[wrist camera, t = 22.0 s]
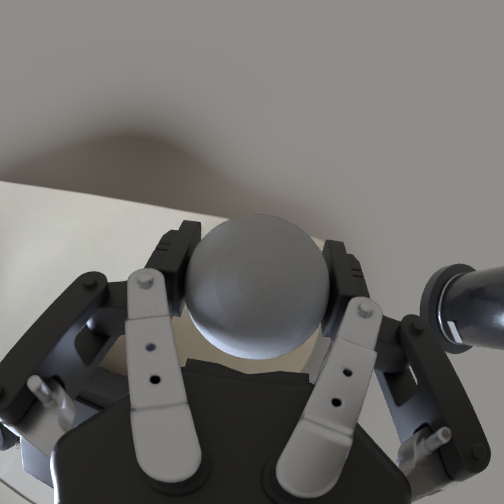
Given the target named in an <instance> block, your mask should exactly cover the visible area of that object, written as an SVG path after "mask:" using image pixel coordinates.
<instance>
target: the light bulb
mask: <svg viewBox="0 0 504 504" xmlns="http://www.w3.org/2000/svg"><path fill="white" fill-rule="evenodd" d="M184 293H185V300H186V305H187V308H188V311H189V314H190V316H191V318H192V320H193V322H194V324H195V326H196V327H197V328H198V330H199V331H200V333H201V334H202V335H203V336H204V337H205V338H206V339H207V340H208V341H209V342H210V343H212V344H213V345H214V346H216V347H217V348H219V349H220V350H222V351H224V352H226V353H228V354H231V355H234V356H237V357H241V358H246V359H269V358H274V357H278V356H281V355H284V354H286V353H288V352H290V351H292V350H294V349H296V348H297V347H299V346H300V345H301V344H303V343H304V342H305V341H306V340H307V339H308V338H309V337H310V336H311V335H312V334H313V333H314V332H315V330H316V329H317V328H318V326H319V324H320V323H321V321H322V319H323V317H324V315H325V312H326V309H327V306H328V301H329V294H330V278H329V272H328V268H327V265H326V262H325V259H324V257H323V255H322V253H321V251H320V250H319V248H318V246H317V245H316V244H315V242H314V241H313V240H312V239H311V238H310V236H309V235H307V234H306V233H305V232H304V231H303V230H302V229H300V228H299V227H298V226H296V225H294V224H293V223H291V222H289V221H287V220H284V219H281V218H279V217H274V216H270V215H262V214H251V215H244V216H239V217H236V218H233V219H230V220H228V221H225V222H223V223H222V224H220V225H218V226H217V227H215V228H214V229H212V230H211V231H210V232H209V233H208V234H207V235H206V236H205V237H204V238H203V239H202V240H201V241H200V242H199V244H198V245H197V247H196V248H195V250H194V251H193V253H192V255H191V257H190V260H189V262H188V265H187V269H186V274H185V281H184Z"/></svg>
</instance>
